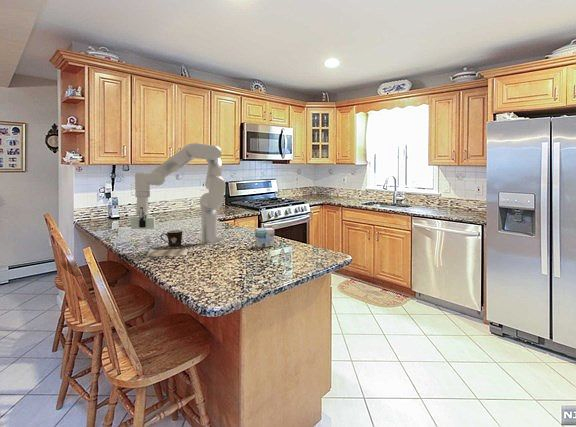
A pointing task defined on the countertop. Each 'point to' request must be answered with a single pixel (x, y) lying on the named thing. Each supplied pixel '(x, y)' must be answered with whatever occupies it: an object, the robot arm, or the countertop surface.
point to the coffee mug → (173, 238)
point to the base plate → (167, 252)
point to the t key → (148, 242)
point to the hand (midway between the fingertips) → (143, 226)
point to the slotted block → (149, 223)
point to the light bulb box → (264, 237)
